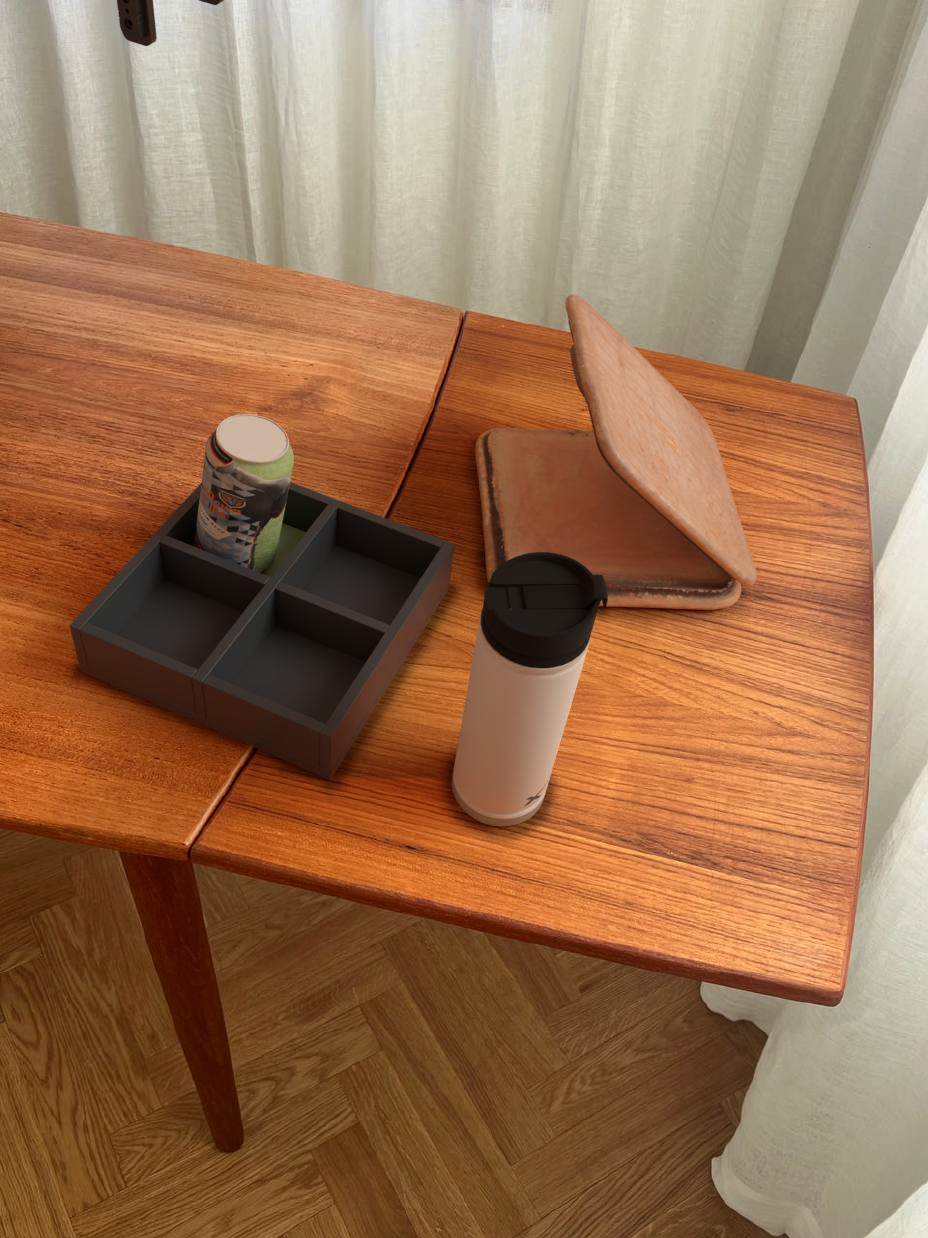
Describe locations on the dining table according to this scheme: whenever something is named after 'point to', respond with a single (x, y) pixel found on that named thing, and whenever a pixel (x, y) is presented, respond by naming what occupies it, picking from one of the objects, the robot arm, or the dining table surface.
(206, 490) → the beverage can
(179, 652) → the four compartment organizer
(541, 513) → the case
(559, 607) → the travel mug
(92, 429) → the dining table surface
